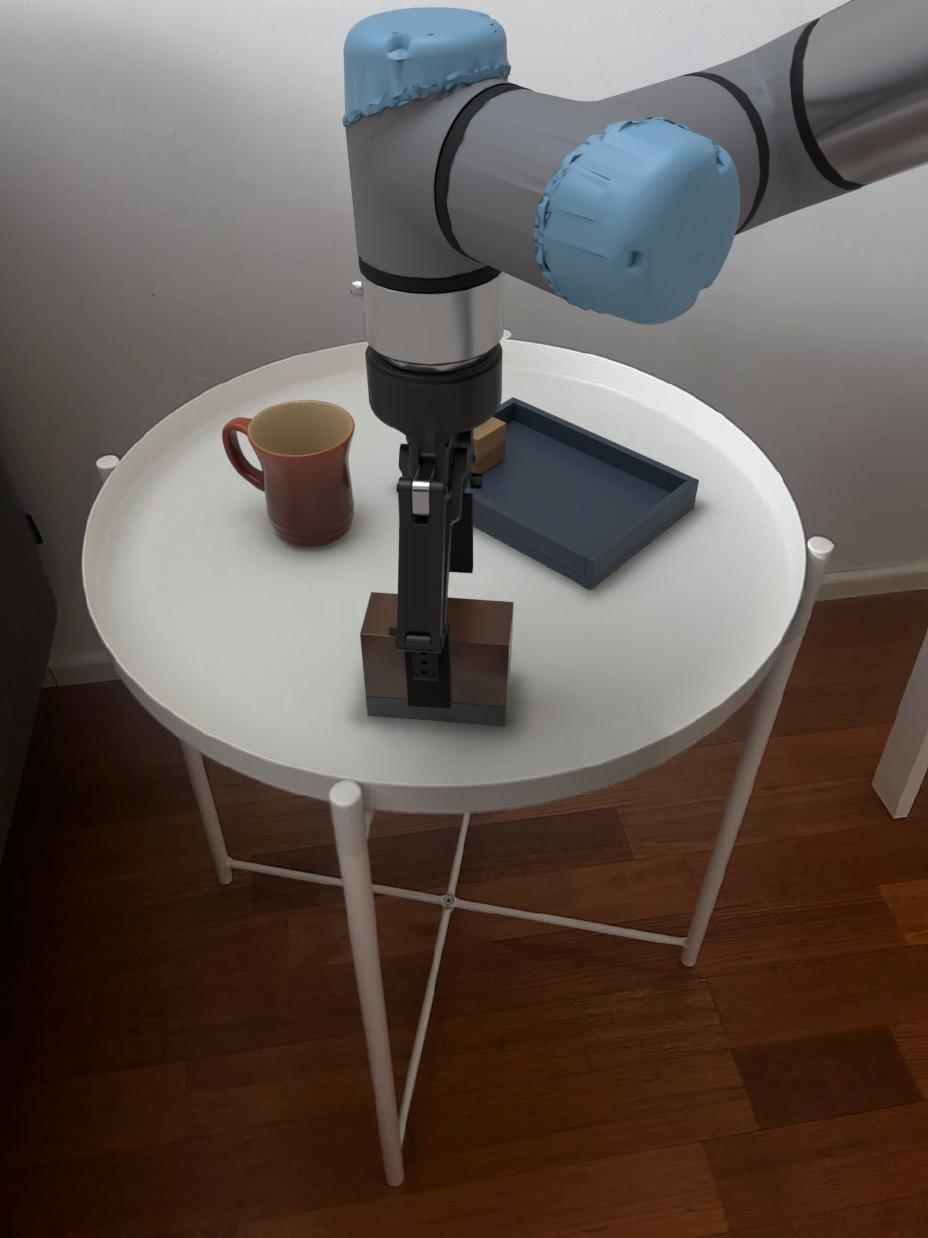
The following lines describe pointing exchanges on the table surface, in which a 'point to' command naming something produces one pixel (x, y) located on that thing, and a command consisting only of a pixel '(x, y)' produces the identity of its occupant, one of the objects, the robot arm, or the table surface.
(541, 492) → the tray
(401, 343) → the robot arm
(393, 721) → the table surface
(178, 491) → the table surface
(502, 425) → the wooden cube
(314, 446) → the mug
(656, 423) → the table surface
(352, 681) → the table surface
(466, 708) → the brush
